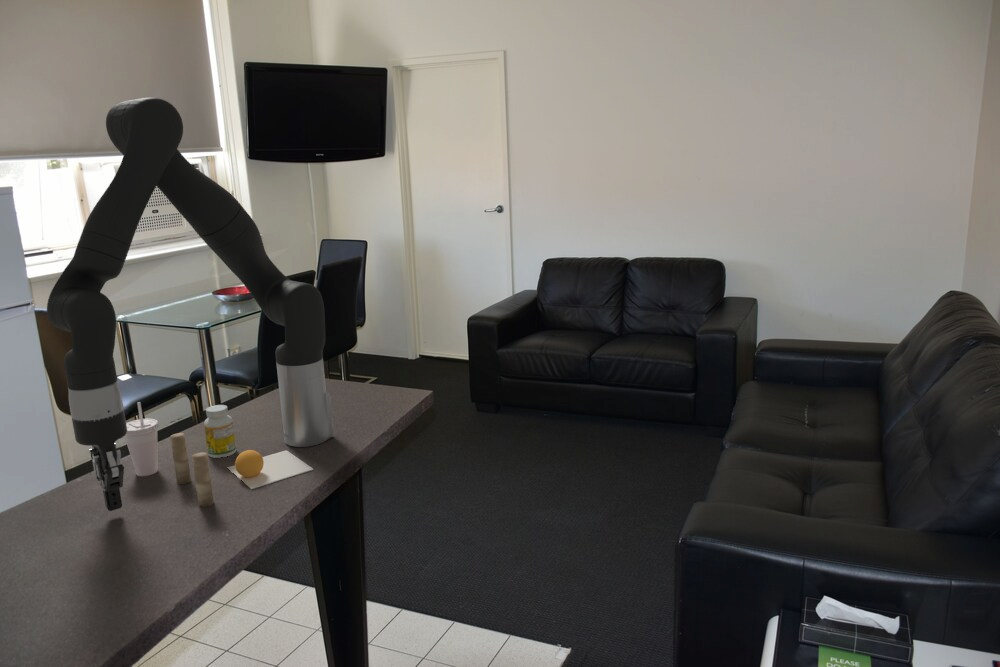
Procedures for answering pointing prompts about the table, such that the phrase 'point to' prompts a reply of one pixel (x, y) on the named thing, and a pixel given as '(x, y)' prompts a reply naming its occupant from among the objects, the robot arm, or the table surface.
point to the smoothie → (143, 444)
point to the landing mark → (274, 469)
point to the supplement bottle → (219, 432)
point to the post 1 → (180, 458)
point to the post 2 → (202, 479)
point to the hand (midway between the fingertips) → (114, 507)
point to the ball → (249, 463)
